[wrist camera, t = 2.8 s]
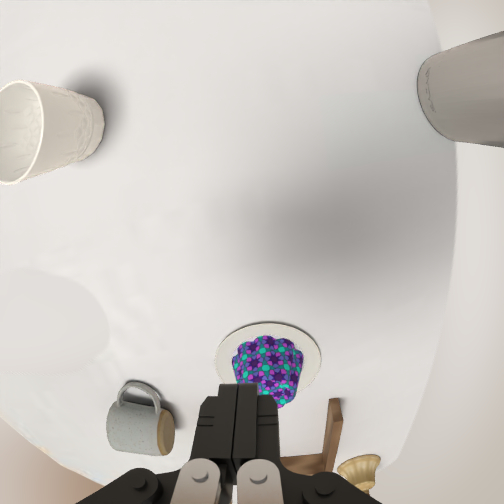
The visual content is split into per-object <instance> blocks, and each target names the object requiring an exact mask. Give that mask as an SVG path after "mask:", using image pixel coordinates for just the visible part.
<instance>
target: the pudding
mask: <svg viewBox="0 0 504 504" xmlns="http://www.w3.org/2000/svg"><path fill="white" fill-rule="evenodd" d="M263 335H274V336H280V337H284V338H286V339H284V338H282V339H277V340H276V339H274V338H273V337H271V336H263ZM257 336H260V337H257ZM253 337H257V338H256V339H255V340H254V341H253V342H244V341H246V340H248V339H250V338H253ZM288 339H289V340H288ZM290 340H291V341H292V342H291V341H290ZM243 342H244V343H243ZM293 342H294V343H295V344H296V345H297V346H299V348H300V349H301V350H302V352H301V351H299V350H296V349H295V348H294V343H293ZM241 343H242V344H241ZM240 344H241V345H240ZM239 345H240V346H239ZM238 346H239V347H238ZM237 347H238V348H237ZM236 348H237V349H238V354H237V355H236V356H234V357H233V359H232V355H233V353H234V351H235V350H236ZM302 353H303V354H302ZM303 355H304V367H303V369H302V364H303ZM231 359H232V364H231ZM232 365H233V368H232ZM320 365H321V356H320V352H319V349H318V347H317V345H316V344H315V342H314V341H313V340H312V339H311V338H310V337H309V336H308V335H306V334H305V333H303V332H302V331H300V330H298V329H295V328H293V327H290V326H286V325H282V324H273V323H268V324H257V325H251V326H248V327H245V328H242V329H240V330H238V331H236V332H234V333H232V334H231V335H230V336H228V337H227V338H226V339H225V340H224V341H223V342H222V343H221V345H220V346H219V348H218V349H217V352H216V355H215V368H216V371H217V374H218V376H219V377H220V379H221V380H222V382H223V383H224V384H235V383H238V384H240V383H257V382H258V386H259V394H260V395H270V394H271V395H272V396H273V398H274V399H275V401H276V403H277V408H281V407H283V406H284V404H286V403H289V402H291V401H292V400H293V399H294V397H295V395H296V393H298V392H300V391H301V390H303V389H305V388H306V387H307V386H308V385H310V383H311V382H312V381H313V380H314V379H315V377H316V376H317V374H318V372H319V369H320ZM301 369H302V371H301ZM233 370H234V371H233Z"/></svg>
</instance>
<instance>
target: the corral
mask: <svg viewBox="0 0 504 504" xmlns="http://www.w3.org/2000/svg"><path fill="white" fill-rule="evenodd" d="M342 425H343V417H342V413H341V408H340V404H339V400H338V398H334V399H329V404H328V413H327V422H326V430H325V437H324V445H323V452H322V454H313V455H304V456H293V457H280V461H281V463H282V464H283V466H284V467H285V468H286V469H288V470H290V471H292V472H294V473H298V474H303V475H309V476H312V475H314V474H316V473H319V472H326V471H327V472H332V471H333V467H334V462H335V458H336V454H337V449H338V445H339V440H340V435H341V430H342Z"/></svg>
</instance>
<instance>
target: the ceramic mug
mask: <svg viewBox="0 0 504 504" xmlns="http://www.w3.org/2000/svg"><path fill="white" fill-rule="evenodd" d="M129 387H135V388H139V389H141V390H143V391H145V392H146V393H147V394H149V396H150V397H151V398H152V400H153V402H154V405H155V407H152V406H145V405H141V404H136V403H131V402H126V401H123V393H124V391H125V390H126V389H127V388H129ZM106 423H107V424H106V429H107V430H106V431H107V437H108V441H109V443H110V445H111V447H112V448H113V449H115V450H117V451H122V452H130V453H136V454H145V455H151V456H164V455H168V454H169V453H170V452H171V450H172V448H173V444H174V437H175V426H174V420H173V417H172V415H171V413H170V412H169V411H167V410H165V409H162V408H160V401H159V398H158V396H157V394H156V393H155V391H154V390H153V389H152V388H151V387H149V386H148V385H146V384H144V383H140V382H130V383H127V384H126V385H125V386H124V387H122V388H121V390H120V391H119V394H118V397H117V401H116V402H114V403H113V404H112V406H111V407H110V409H109V413H108V416H107V422H106Z"/></svg>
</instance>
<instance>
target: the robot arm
mask: <svg viewBox="0 0 504 504" xmlns="http://www.w3.org/2000/svg"><path fill="white" fill-rule="evenodd" d="M417 83H418V95H419V100H420V103H421V106H422V109H423V111H424V113H425V115H426V117H427V119H428V120H429V122H430V123H431V124H432V126H433V127H434V128H435V129H436V130H437V131H438V132H439V133H440V134H441V135H443V136H445V137H446V138H448V139H450V140H453V141H458V142H467V143H475V144H481V145H489V146H495V147H503V148H504V31H502V32H499V33H495V34H492V35H489V36H486V37H483V38H480V39H477V40H474V41H471V42H468V43H466V44H462V45H460V46H457V47H454V48H451V49H449V50H446V51H443V52H441V53H438V54H436V55H433V56H431V57H430V58H428V59H427V60H426V61H425V62H424V64H423V65H422V67H421V69H420V71H419V75H418V82H417ZM233 485H237V504H382V503H380V502H378V501H377V500H375V499H374V498H372V497H371V496H369V495H368V494H366V493H365V492H363V491H362V490H360V489H359V488H357V487H356V486H354V485H353V484H351V483H350V482H348V481H347V480H346V479H344V478H343V477H341V476H340V475H338V474H336V473H333V472H327V471H326V472H319V473H316V474H314V475H312V476H309V475H303V474H298V473H294V472H292V471H290V470H288V469H286V468H285V467H284V466H283V464H282V463H281V461H280V442H279V421H278V408H277V403H276V401H275V399H274V398H273V396H272V395H271V394H270V395H260V394H259V386H258V382H257V383H240V384H238V383H235V384H220V386H219V391H218V396H208V397H207V398H206V399H205V401H204V402H203V403H202V405H201V407H200V412H199V418H198V421H197V427H196V431H195V436H194V441H193V446H192V451H191V456H190V459H189V461H188V462H187V463H186V464H184V465H183V467H182V468H181V469H179V470H177V471H173V472H168V473H162V474H154V473H153V472H152V471H150V470H148V469H145V468H135V469H132V470H130V471H128V472H127V473H125V474H124V475H122V476H120V477H119V478H117V479H116V480H114V481H113V482H111V483H109V484H108V485H106V486H105V487H103V488H101V489H100V490H98V491H97V492H95V493H93V494H92V495H90V496H88V497H86V498H85V499H83V500H81V501H79V502H78V503H76V504H232V491H233Z"/></svg>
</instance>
